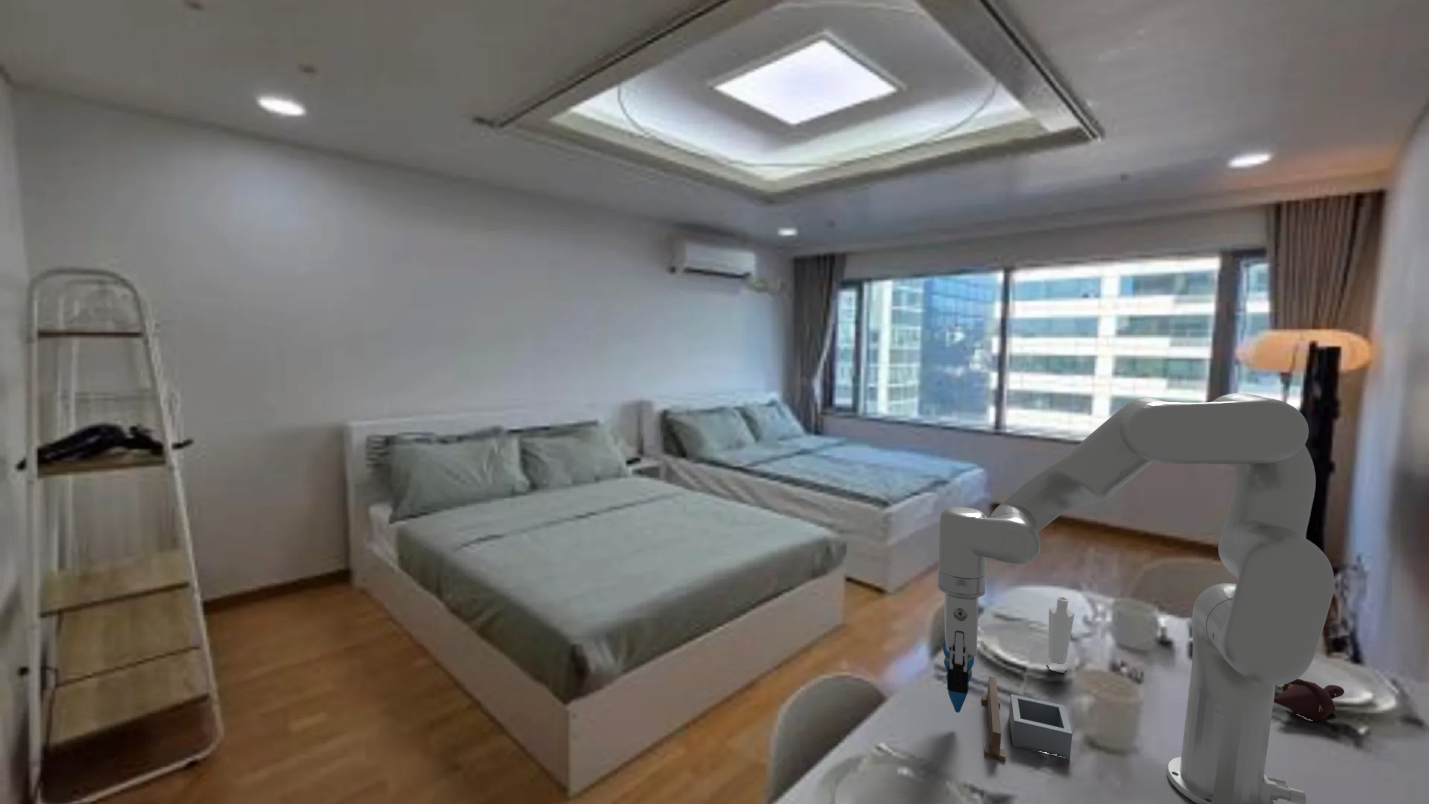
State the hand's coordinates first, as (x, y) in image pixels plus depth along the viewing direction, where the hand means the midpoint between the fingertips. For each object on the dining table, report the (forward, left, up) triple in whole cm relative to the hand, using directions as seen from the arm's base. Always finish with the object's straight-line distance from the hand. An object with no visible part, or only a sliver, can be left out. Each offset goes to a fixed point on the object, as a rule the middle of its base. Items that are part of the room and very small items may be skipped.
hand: (957, 682), depth 107 cm
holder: (-13, -2, -8) cm, 15 cm away
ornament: (0, 0, -6) cm, 6 cm away
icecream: (-60, -30, -8) cm, 67 cm away
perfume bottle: (-19, -29, -8) cm, 36 cm away
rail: (-6, -2, -8) cm, 10 cm away
